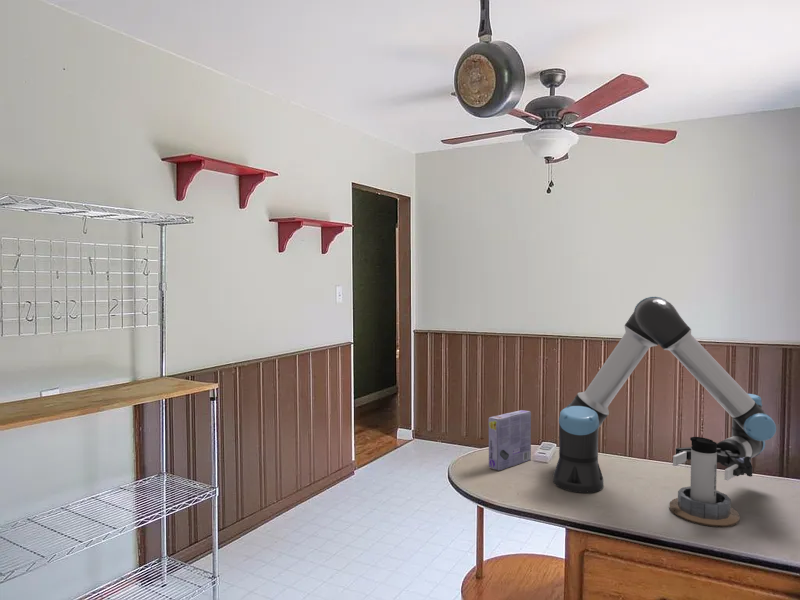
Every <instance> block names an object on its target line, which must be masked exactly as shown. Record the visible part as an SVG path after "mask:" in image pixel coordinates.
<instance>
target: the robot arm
mask: <svg viewBox="0 0 800 600" xmlns="http://www.w3.org/2000/svg"><path fill="white" fill-rule="evenodd" d="M624 330H625V332H624V334H623V335H622V337H621V338H620V340H619V342H617V344H616V346H615V347H614V349H613V350H612V351H611V353H610V355H609V356H608V358H607V359H606V360H605V362H604V364H603V365H602V366H601V368H600V369H599V370H598V372H597V373H596V375H595V376H594V377H593V379H592V381H591V382H590V384H589V385H588V386H587V388H586V389H585V391H582V392H577V394H576V396H575V397H574V399H572V401H571V403H569V404H568V405H567V406H566V407H564V408H563V409H561V411H560V412H559V417H558V423H559V430H558V431H559V437H558V438H559V439H558V440H559V448H558V450H559V451H558V461H557V463H556V465H555V470H554V472H553V475H552V477H553V479H552V483H553V484H554V485H555V486H557V487H558V488H560V489H561V490H565V491H569V492H574V493H581V494H582V493H583V494H586V493H589V494H590V493H596V492H600V491H601V490H603V488H604V477H603V474H602V471H601V467H600V464H599V429H600V427H601V426H602V424H603V422H604V421H605V420H606V419H607V417H608V416H609V414H610V410H609V406H610V404H611V403H612V402H613V400H614V398H616V396H617V394H618V393H619V391H620V390H621V389H622V388H623V387H624V385H625V383H626V381H627V380H628V379H629V378H630V376H631V375H632V373H633V372H634V371H635V369H636V368H637V366H638V365H639V364H640V362H641V361H642V359H643V358H644V356H645V355H646V353H647V352H648V351H649V349H650V348H652V347H657V346H658V345H659V346H660V347H661V348H662V349H663V351H669V352H670V353H671V354H672V355H673V356H674V357H675V358H676V360H678V361H679V363H680V364H681V365H683V367H684V368H686V370H687V371H688V372H689V373H690V374H691V376H693V377H694V379H695V380H696V381H697V382H698V383H699V384H700V385H701V386H702V387H703V388H704V389H705V390H706V391H707V392H708V393H709V395H711V397H712V398H713V399H714V400H715V401H716V402H717V403H718V404H719V405H720V406H721V407H722V408H723V409H724V410H725V412H727V414H728V415H730V417H732V419H731V420H732V421H731V422H732V423H731V425H732V426H731V436H730V437H727V438H725V439H724V440H722V441H719V442H716V443H717V463H719V465H721V466H724V467H727V468H725V469H724V480H725V481H729V480H731V479H733V478H735V477H739V476H744V475H746V476H747V477H753V465H752V463H751V462H752V461H751V460H752V458H755V457H758V456H759V455H760V454H761V453H762V452H763V451H764V450H765V448H766V441H768V440H771V439H772V438H773V437H774V436H775V435H776V432H777V425H776V423H775V421H774V419H773V417H771V416H770V415H769V414H767V412H766V411H764V410H763V409H762V407H763V402H762V400H763V399H762V397H761V396H759V395H758V394H754V393H747V391H745V390H744V388H742V387H741V385H740V384H739V383H738V382H737V381H736V380H735V379H734V378H733V377H732V376H731V375H730V374H729V373H728V372H727V370H725V368H723V366H722V365H721V364H720V363H719V362H718V361H717V360H716V359H715V358H714V357H713V356H712V354H711V353H709V351H708V350H707V349H706V348H705V347H704V346H703V345H702V344H701V343H700V342H699V341H698V340H697V339H696V338H695V337H694V336H693V334H692V328H691V327H690V326H688V324H687V323H686V322H685V320H684V319H683V318H682V316H681V314H680V313H679V312H678V311H677V309H676V308H675V306H674V305H673V304H672V303H671V302H669V301H667V299H664V298H662V297H658V296H649V297H645V298H643V299H641V300H640V301H639V302H638V303H637V304H636V305H635V307H634V310H633V312H632V314H631V315H630V316H629V318H628V320H627V321H626V323H625V324H624ZM687 460H689V461H691V446H686V447H676V448H675V454H674V455H672V466H673V467H677V466H679V465H681V464H683V463H686V462H687Z"/></svg>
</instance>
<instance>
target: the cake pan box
mask: <svg viewBox="0 0 800 600" xmlns="http://www.w3.org/2000/svg"><path fill="white" fill-rule="evenodd" d="M531 422H532V412H531V410H523V409H520V410H517V411H516V410H515V411H512V412H507V413H502V414H498V415H493V416H490V417H489V416H488V468H490V469H493V470H494V471H497V472H499V471H502V470H505V469H507V468H512V467H516V466H519V464H523V463H526V462H528V461H531V460H532V458H531V457H532V456H531V455H532V454H531V453H532V451H531V450H532V431H531V430H532V426H531V425H532V423H531Z"/></svg>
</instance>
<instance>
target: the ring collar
mask: <svg viewBox="0 0 800 600" xmlns="http://www.w3.org/2000/svg"><path fill="white" fill-rule="evenodd" d="M690 492H691V485H690V486H684V487H681V488H680V489H679V490H678V491H677V497H676V498H673V499H671V501H670V502H669V507H668V508H669V510H670V512H671V513H672V514H673V515H675V516H676V517H677V518H679V519H682V520H684V521H686V522H689V523H692V524H696V525H700V526H704V527H709V528H710V527H712V528H727V527H734V526H737V525H738V524H739V522H740V513H739V512H738V510H736V509H734V507H732V506H731V503H732V500H731V498H730V497H729V496H728V495H727V494H726V493H723V492H721V491H719V490H717V489H716V503H706V502H701V501H697V500H693V499H691V498H690Z"/></svg>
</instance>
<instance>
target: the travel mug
mask: <svg viewBox="0 0 800 600" xmlns="http://www.w3.org/2000/svg"><path fill="white" fill-rule="evenodd" d="M689 439H690V441H691V446H690V447H691V460H690V486H691V492H690V498H691V499H693V500H697V501H701V502H706V503H716V490H717V475H718V474H717V469H718V468H717V466H718V464H717V463H718V462H717V443H718V442H715V441H713V440H712V439H709V438H706V437H703V436H702V437H701V436H691V437H690V438H689Z"/></svg>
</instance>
